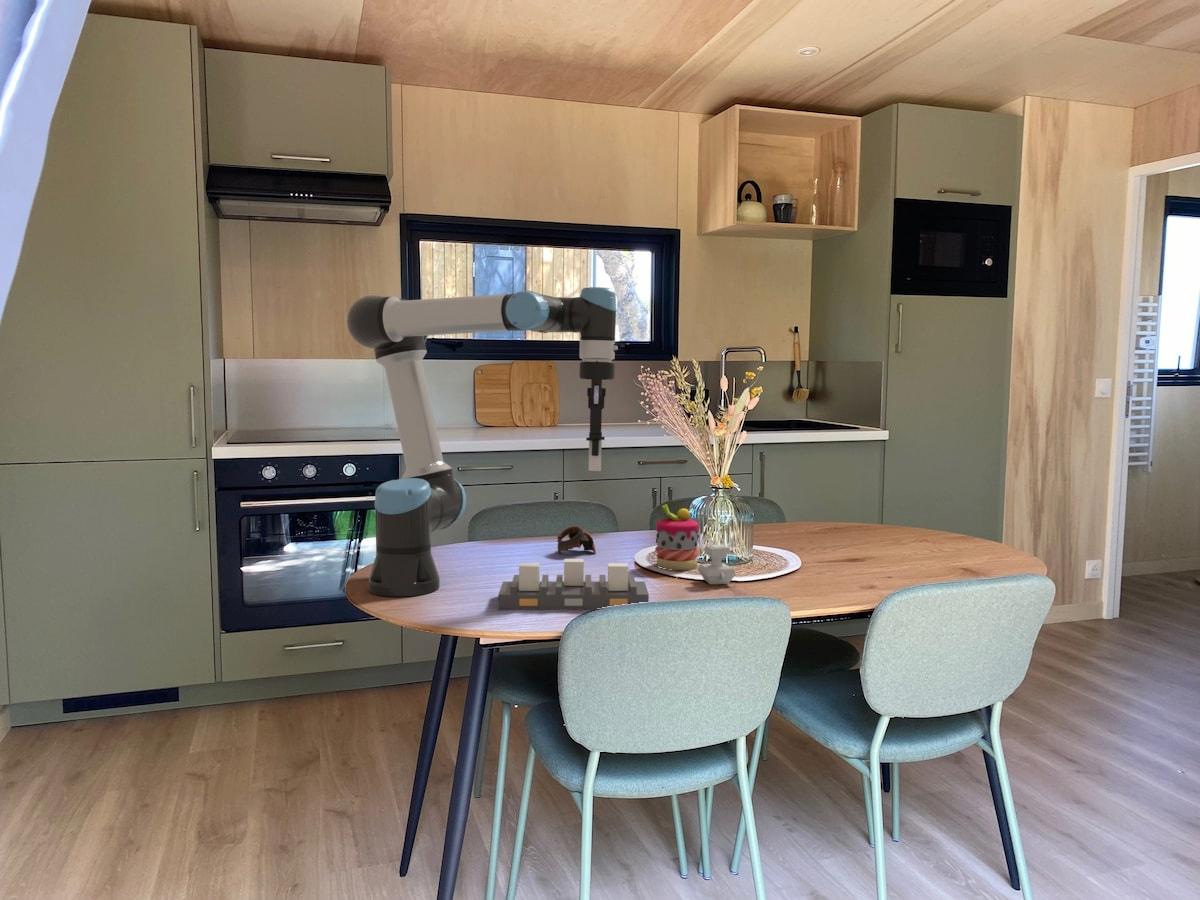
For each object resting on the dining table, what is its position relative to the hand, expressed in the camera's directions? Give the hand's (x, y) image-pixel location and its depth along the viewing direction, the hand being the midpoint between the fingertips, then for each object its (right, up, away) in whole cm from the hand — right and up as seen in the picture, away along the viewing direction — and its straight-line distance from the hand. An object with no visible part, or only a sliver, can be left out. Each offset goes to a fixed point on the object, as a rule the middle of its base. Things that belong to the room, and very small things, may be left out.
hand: (594, 470), depth 193 cm
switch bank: (-4, -27, -9) cm, 29 cm away
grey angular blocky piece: (+27, -26, +8) cm, 38 cm away
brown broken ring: (-5, -23, +40) cm, 46 cm away
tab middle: (-4, -24, -7) cm, 25 cm away
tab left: (-13, -24, -11) cm, 30 cm away
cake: (+20, -24, +25) cm, 40 cm away
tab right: (+5, -24, -11) cm, 27 cm away
